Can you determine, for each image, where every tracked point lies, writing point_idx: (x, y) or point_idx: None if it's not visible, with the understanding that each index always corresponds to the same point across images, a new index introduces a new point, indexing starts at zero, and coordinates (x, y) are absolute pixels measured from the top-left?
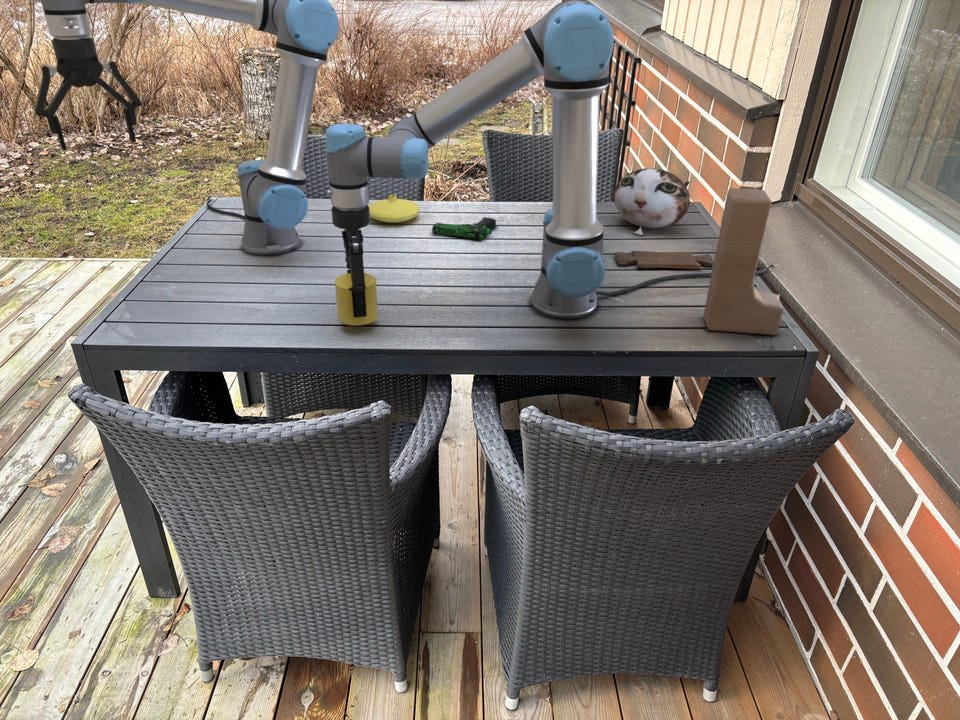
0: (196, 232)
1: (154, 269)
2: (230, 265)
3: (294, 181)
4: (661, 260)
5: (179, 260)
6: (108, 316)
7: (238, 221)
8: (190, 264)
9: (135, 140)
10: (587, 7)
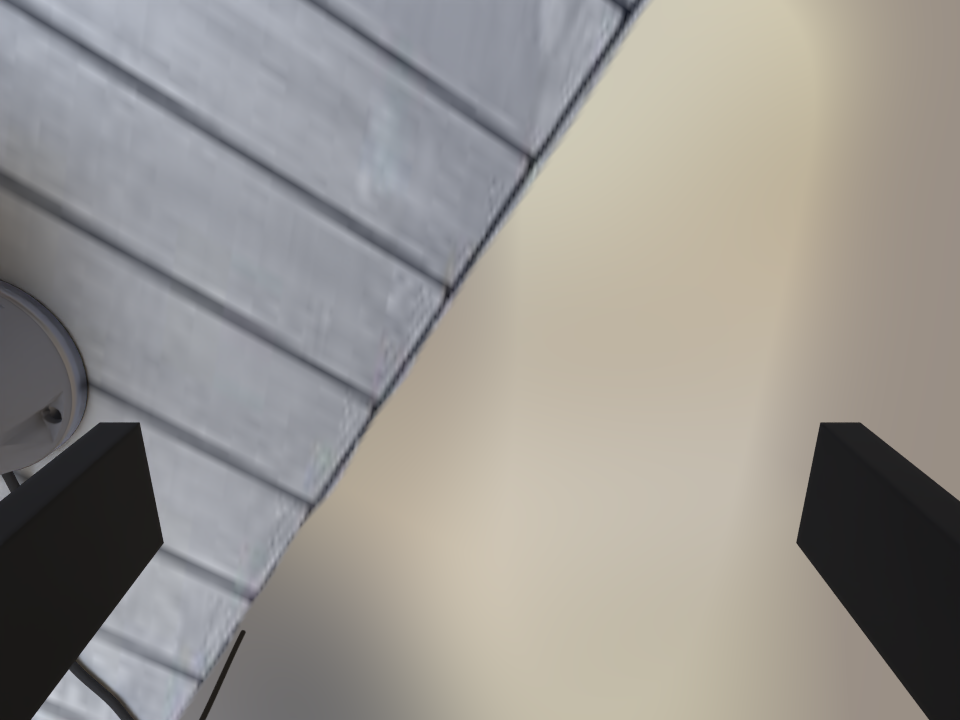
0: (220, 594)
1: (394, 367)
2: (150, 267)
3: None
4: None
5: (307, 399)
6: (607, 48)
7: None
8: (278, 348)
9: (94, 431)
10: None
